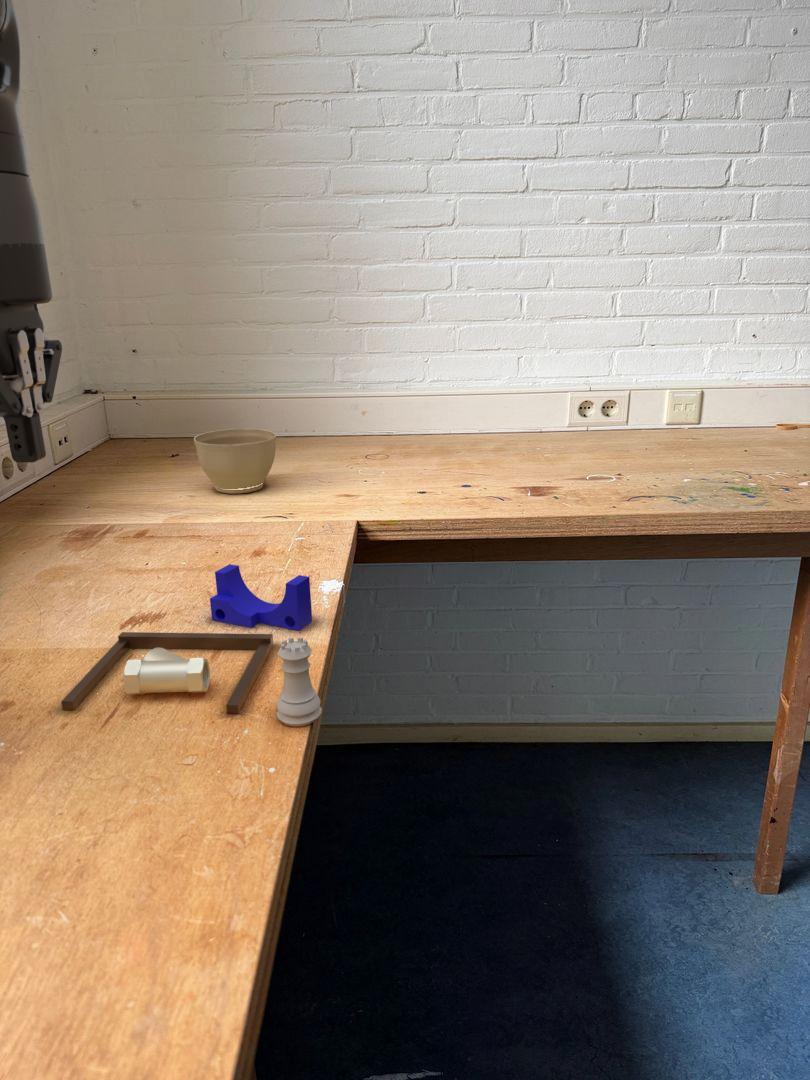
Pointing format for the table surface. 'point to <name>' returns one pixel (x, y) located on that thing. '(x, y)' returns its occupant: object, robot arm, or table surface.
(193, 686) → the pipe fitting
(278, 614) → the blue saddle bracket
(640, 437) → the table surface
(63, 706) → the frame
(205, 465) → the planter bowl
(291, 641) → the rook chess piece
